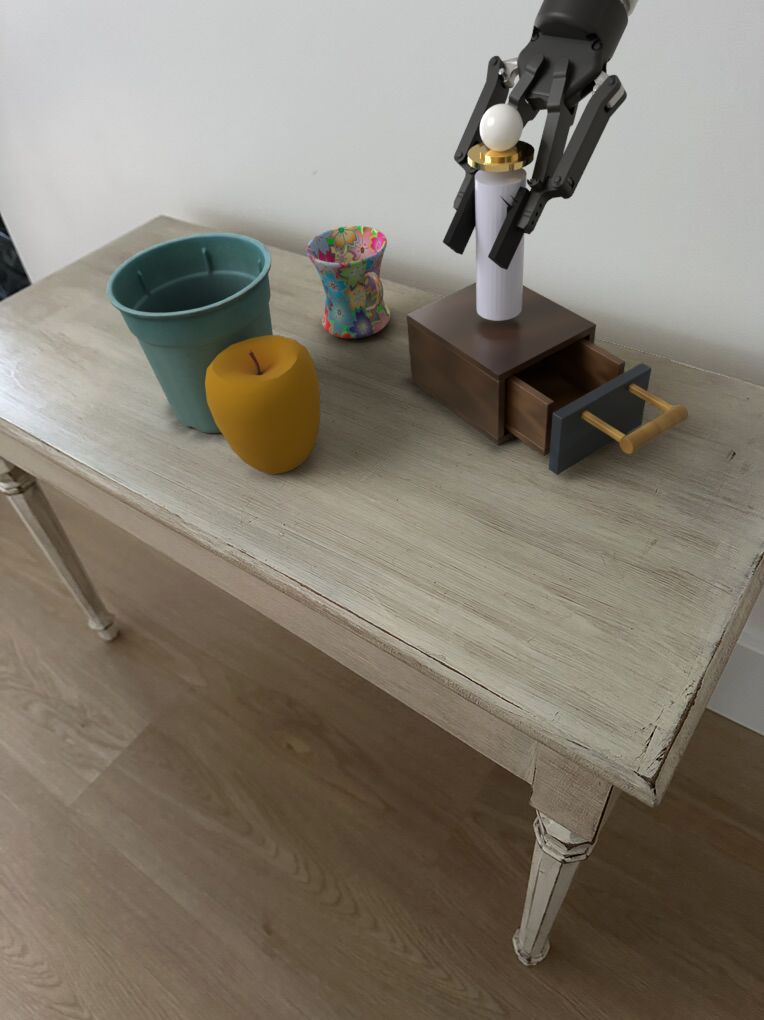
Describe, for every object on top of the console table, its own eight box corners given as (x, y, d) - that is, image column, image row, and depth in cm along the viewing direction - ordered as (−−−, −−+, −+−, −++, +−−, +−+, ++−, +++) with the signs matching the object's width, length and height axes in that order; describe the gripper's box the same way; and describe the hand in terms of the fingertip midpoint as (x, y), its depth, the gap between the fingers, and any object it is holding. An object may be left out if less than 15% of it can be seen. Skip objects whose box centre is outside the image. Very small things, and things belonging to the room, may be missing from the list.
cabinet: (588, 394, 84) (596, 324, 78) (498, 445, 80) (498, 375, 74) (497, 338, 93) (498, 271, 87) (411, 381, 89) (406, 314, 83)
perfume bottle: (459, 321, 80) (453, 111, 66) (489, 294, 83) (490, 89, 69) (509, 336, 77) (513, 121, 63) (538, 308, 80) (549, 97, 66)
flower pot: (126, 437, 86) (72, 306, 75) (196, 352, 97) (157, 227, 86) (262, 457, 82) (226, 322, 70) (319, 366, 92) (296, 235, 81)
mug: (307, 321, 100) (292, 242, 92) (370, 296, 102) (361, 217, 95) (353, 365, 92) (341, 282, 84) (420, 337, 95) (414, 254, 87)
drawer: (693, 456, 75) (707, 398, 70) (606, 511, 71) (615, 454, 66) (546, 366, 87) (550, 311, 82) (465, 409, 83) (464, 354, 78)
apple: (273, 410, 87) (249, 306, 78) (352, 440, 82) (336, 333, 73) (205, 469, 81) (170, 364, 72) (286, 505, 76) (259, 397, 67)
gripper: (695, 38, 67) (570, 296, 71) (524, 17, 76) (422, 246, 80) (673, -20, 61) (538, 267, 65) (490, -35, 70) (382, 216, 74)
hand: (474, 255), depth 72 cm, fingers closed on perfume bottle, 4 cm apart
